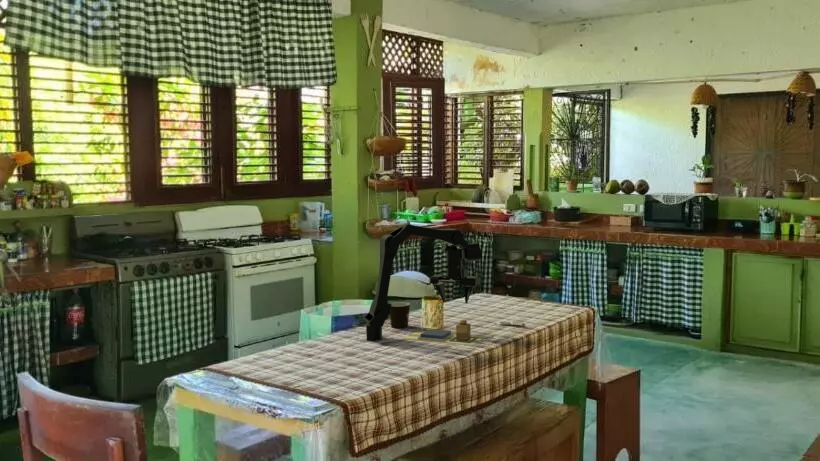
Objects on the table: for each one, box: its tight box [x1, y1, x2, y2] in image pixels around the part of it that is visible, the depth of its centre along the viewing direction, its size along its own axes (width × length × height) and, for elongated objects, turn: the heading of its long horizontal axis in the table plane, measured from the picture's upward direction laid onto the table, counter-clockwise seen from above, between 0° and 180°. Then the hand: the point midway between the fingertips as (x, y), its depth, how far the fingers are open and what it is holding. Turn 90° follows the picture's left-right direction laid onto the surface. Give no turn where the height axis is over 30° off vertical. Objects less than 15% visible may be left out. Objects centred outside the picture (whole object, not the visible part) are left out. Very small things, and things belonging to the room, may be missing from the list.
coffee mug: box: [389, 301, 411, 330], centre depth 302 cm, size 12×9×10 cm
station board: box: [401, 330, 486, 347], centre depth 280 cm, size 14×28×1 cm, turn 64°
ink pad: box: [418, 328, 455, 341], centre depth 281 cm, size 10×10×2 cm
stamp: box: [455, 319, 472, 341], centre depth 277 cm, size 4×4×7 cm
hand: (455, 302), depth 290 cm, fingers open, 9 cm apart
